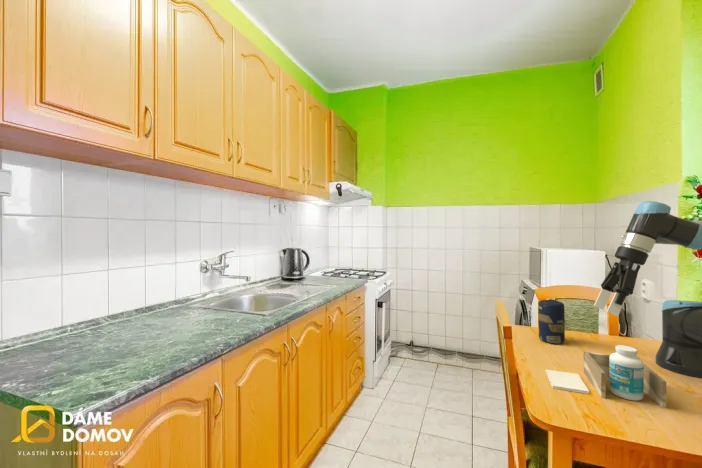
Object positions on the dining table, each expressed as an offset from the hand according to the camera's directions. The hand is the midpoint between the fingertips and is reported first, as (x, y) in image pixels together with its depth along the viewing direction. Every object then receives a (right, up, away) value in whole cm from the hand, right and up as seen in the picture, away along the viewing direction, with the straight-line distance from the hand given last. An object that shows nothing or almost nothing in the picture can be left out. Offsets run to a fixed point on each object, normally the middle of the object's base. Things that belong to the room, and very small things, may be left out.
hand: (604, 310), depth 100 cm
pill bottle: (-3, -22, -11) cm, 24 cm away
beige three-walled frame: (-1, -21, -7) cm, 23 cm away
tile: (-14, -22, -3) cm, 26 cm away
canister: (+4, -21, +34) cm, 40 cm away
